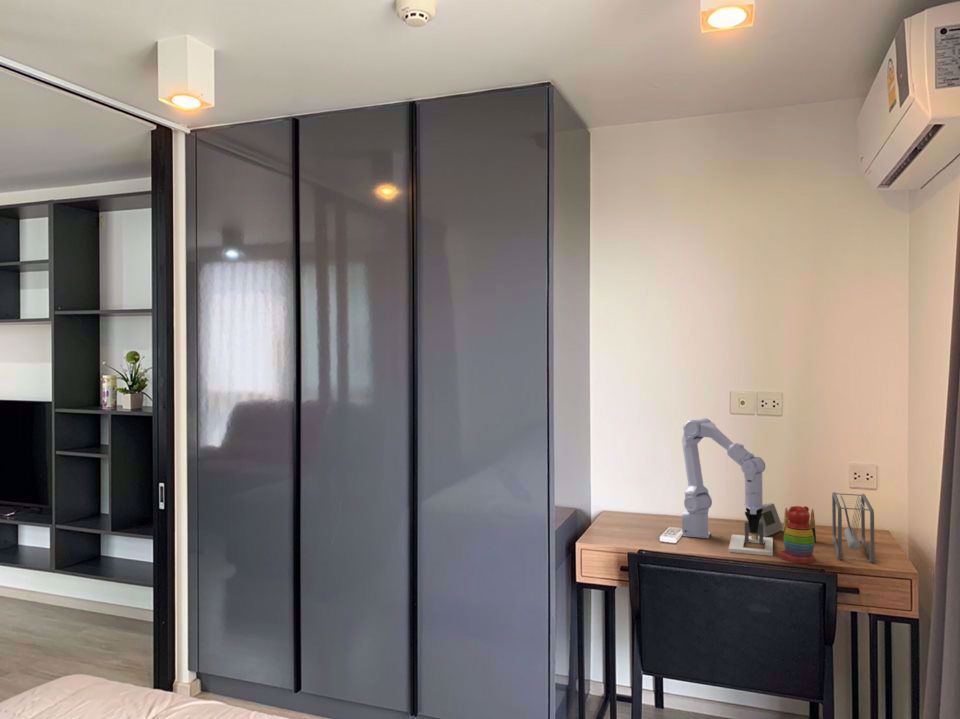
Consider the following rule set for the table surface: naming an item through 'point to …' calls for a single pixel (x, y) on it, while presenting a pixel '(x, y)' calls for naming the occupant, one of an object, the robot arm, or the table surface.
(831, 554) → the table surface
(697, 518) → the robot arm
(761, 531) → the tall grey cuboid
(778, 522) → the digital clock
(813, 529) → the ammunition clip
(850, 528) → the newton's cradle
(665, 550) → the table surface
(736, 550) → the white slotted board
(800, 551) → the stacking bear
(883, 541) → the table surface
